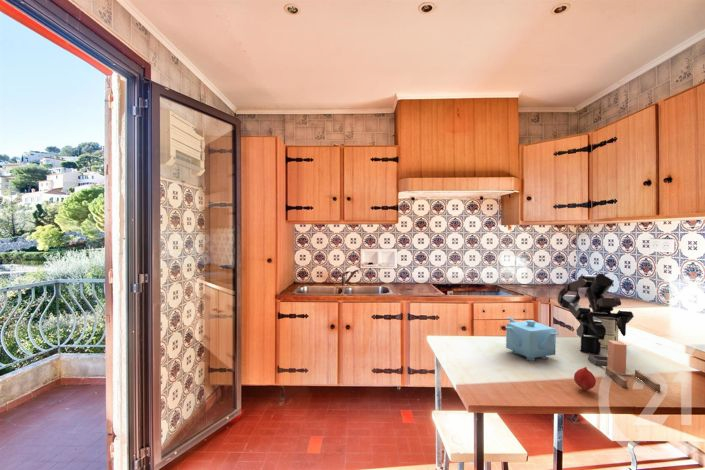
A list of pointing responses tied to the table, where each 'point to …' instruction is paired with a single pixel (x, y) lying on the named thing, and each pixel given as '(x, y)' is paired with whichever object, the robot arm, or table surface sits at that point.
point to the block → (617, 356)
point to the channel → (638, 374)
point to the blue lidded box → (530, 339)
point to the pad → (619, 372)
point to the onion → (584, 379)
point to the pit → (598, 360)
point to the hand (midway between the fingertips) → (610, 334)
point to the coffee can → (609, 330)
